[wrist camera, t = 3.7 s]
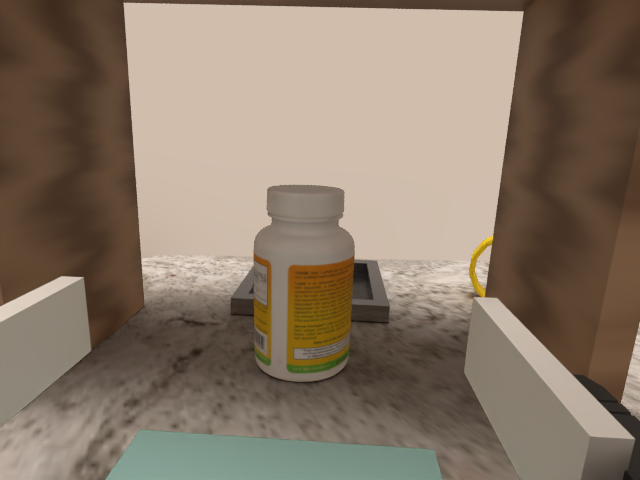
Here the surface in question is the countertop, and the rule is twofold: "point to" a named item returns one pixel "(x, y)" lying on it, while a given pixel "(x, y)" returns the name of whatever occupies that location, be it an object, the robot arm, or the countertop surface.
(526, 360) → the robot arm
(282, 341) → the supplement bottle
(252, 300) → the tray
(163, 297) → the countertop surface
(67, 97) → the tunnel
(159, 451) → the pad
